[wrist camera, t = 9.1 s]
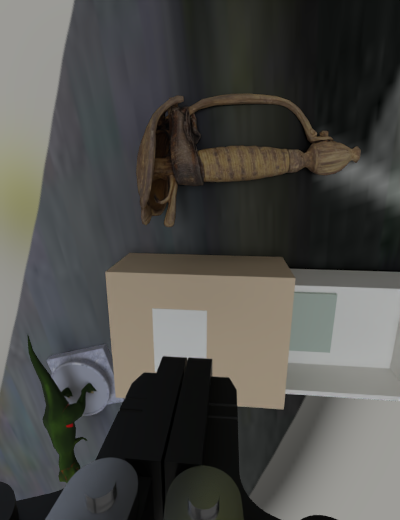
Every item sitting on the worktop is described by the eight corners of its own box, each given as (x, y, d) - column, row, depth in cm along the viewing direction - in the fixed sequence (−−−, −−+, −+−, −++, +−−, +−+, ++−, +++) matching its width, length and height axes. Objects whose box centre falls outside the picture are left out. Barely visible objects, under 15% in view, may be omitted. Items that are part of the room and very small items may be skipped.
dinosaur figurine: (81, 424, 50) (38, 496, 39) (32, 313, 45) (-32, 359, 34) (134, 415, 49) (105, 487, 37) (89, 300, 44) (41, 343, 33)
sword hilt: (121, 65, 30) (121, 217, 28) (389, 32, 27) (407, 199, 25) (150, 122, 40) (152, 237, 38) (349, 102, 37) (360, 226, 35)
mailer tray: (250, 267, 39) (253, 283, 33) (410, 272, 37) (443, 290, 32) (245, 361, 43) (248, 391, 37) (391, 369, 41) (418, 402, 35)
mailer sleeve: (129, 252, 41) (104, 272, 33) (282, 256, 40) (295, 278, 31) (136, 358, 46) (115, 398, 37) (273, 366, 44) (283, 410, 36)
